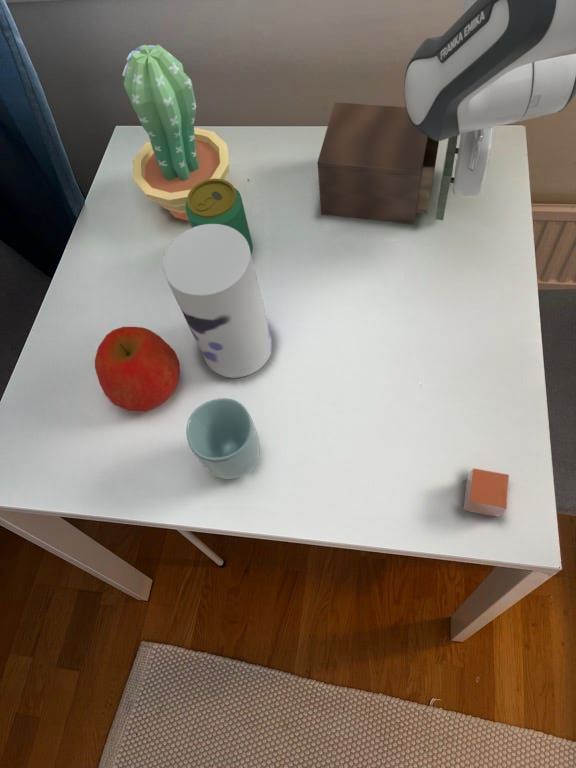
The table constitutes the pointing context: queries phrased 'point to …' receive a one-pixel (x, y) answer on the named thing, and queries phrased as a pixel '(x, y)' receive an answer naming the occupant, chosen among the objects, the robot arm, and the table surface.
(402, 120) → the cabinet
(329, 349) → the table surface
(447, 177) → the drawer
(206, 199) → the beverage can
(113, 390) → the apple
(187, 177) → the potted cactus
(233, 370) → the container
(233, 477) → the cup
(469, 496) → the block
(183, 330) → the table surface
